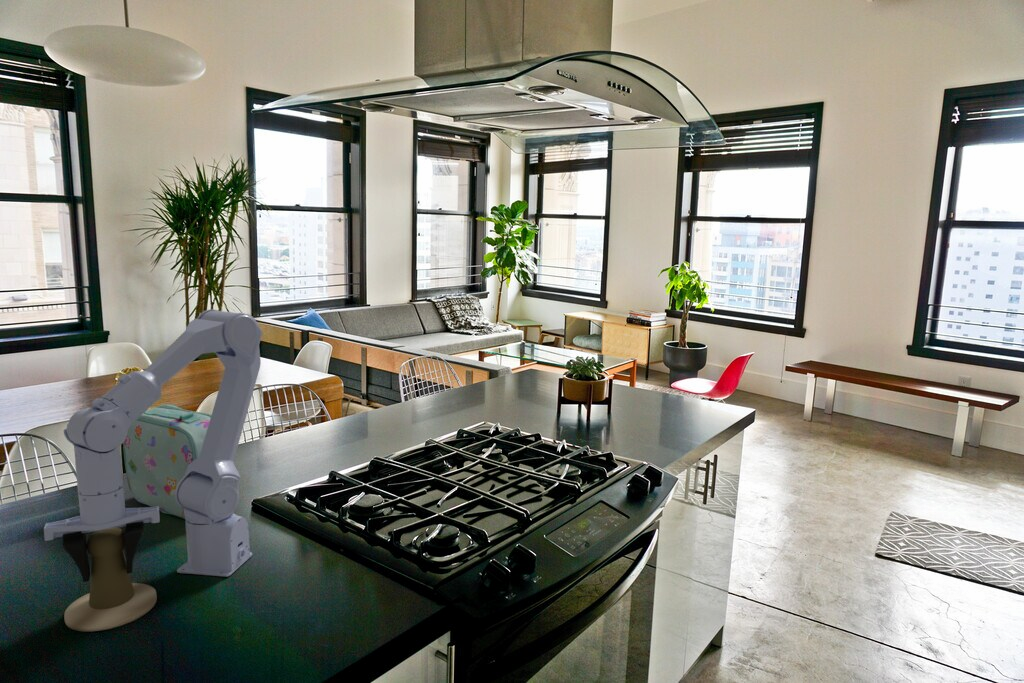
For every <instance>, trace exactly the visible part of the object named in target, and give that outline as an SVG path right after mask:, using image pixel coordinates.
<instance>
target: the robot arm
mask: <svg viewBox="0 0 1024 683" xmlns="http://www.w3.org/2000/svg"><path fill="white" fill-rule="evenodd" d="M263 333H264V332H263V330H262V328H261V327H260V325H259V323H258V322H257V320H256V318H254V316H252V315H251V314H249V313H247V312H231V311H223V310H222V311H221V310H217V309H214V308H213V309H212V308H211V309H206V310H204V311H202V312H201V313H200V314H199V315H198V316H197V318H194V319H193V320H191V321H189V322H188V325H187V327H186V328H185V330H184V331H183V333H181V334H180V335H179V336H178V337H177V338H176V339H175V340H174V341H173V342H172V343H171V344H170V345H169V346H168V347H167V348H166V349H165V350H164V351H163V352H162V353H161V354H159V356H158V357H157V358H156V359H155V360H154V361H153V362H151V363H150V365H148V367H146V368H145V369H144V370H143V371H142V370H141V371H140V370H138V371H137V370H134V371H130V372H129V373H127V374H126V373H121V375H120V376H118V377H117V381H118V383H116V384H114V386H113V387H112V388H111V389H109V390H108V391H107V392H105V393H104V394H103V395H102V396H101V397H100V398H95V399H94V400H93V401H91V407H86V408H82V409H81V408H80V409H79V410H77V411H76V412H74V414H73V415H71V417H70V418H69V419H68V423H67V424H66V429H63V435H64V437H65V439H66V440H67V441H68V442H69V443H71V444H72V445H73V450H74V451H73V452H74V459H75V461H74V462H75V463H74V466H75V473H76V474H75V475H76V485H77V496H78V505H79V506H78V507H79V515H76V516H72V517H69V518H66V519H62V520H57V521H53V522H52V521H51V522H46V523H45V525H44V527H43V535H44V541H45V542H47V541H48V542H49V541H53V540H54V539H55V538H61V537H62V544H61V545H62V547H63V549H64V550H65V551H66V552H67V553H68V554H69V556H70V558H72V560H73V561H74V563H75V565H76V566H77V568H78V570H79V572H80V575H81V577H82V578H81V579H82V581H83V582H82V583H86V582H90V579H91V567H90V562H89V556H88V550H87V533H92V532H93V533H94V532H96V531H99V530H105V529H111V528H123V527H124V530H123V531H124V538H125V553H126V554H125V558H126V571H127V574H128V573H130V574H132V573H133V566H134V565H133V564H134V558H135V555H136V550H137V548H138V546H139V543H140V540H141V538H142V536H143V533H144V527H145V523H146V524H148V523H151V524H157V523H160V517H161V516H160V510H159V506H156V507H151V506H148V507H126V502H125V487H124V478H123V466H122V463H123V462H122V456H121V445H123V442H124V441H125V439H126V437H127V433H128V429H129V427H130V426H131V425H132V423H133V422H134V421H135V420H137V419H138V418H139V417H140V416H141V415H142V414H143V413H144V412H145V411H146V410H149V409H151V407H152V406H153V405H154V404H156V402H157V401H158V400H159V399H161V397H162V392H163V391H162V389H163V385H165V384H166V383H168V382H169V381H170V380H171V379H173V377H175V376H176V375H177V374H178V373H180V372H181V371H182V370H183V369H185V368H186V367H187V366H188V365H189V364H191V363H192V362H193V361H194V360H196V359H197V358H198V357H200V356H202V354H211V353H213V354H216V357H217V358H218V359H219V361H220V362H221V363H222V365H223V368H224V372H223V374H222V378H221V382H220V385H219V389H218V392H217V395H216V399H215V400H214V401H215V402H214V404H213V405H214V406H213V409H212V412H211V414H210V415H211V419H210V422H209V426H208V429H207V432H206V436H205V439H204V443H203V446H202V450H201V453H200V456H199V457H198V458H197V459H196V460H194V461H193V462H191V463H190V464H189V465H188V467H187V470H186V473H185V475H184V476H183V478H182V479H181V480H180V482H179V483H178V485H177V487H176V490H175V499H176V501H177V503H178V504H179V505H180V506H181V507H183V508H184V515H185V519H184V520H185V533H186V534H185V535H186V537H185V538H186V549H187V550H186V551H187V561H186V562H185V563H183V564H182V565H181V566H180V567H178V568H177V569H176V572H177V573H179V574H189V575H190V574H191V575H200V576H201V575H203V576H213V577H214V576H216V577H227V578H228V577H230V576H231V575H233V574H234V572H236V571H237V570H238V569H239V568H240V567H241V566H242V565H243V564H245V562H246V561H248V560H249V559H250V558H251V557H252V556H253V552H251V550H250V548H251V547H250V546H251V545H250V532H249V523H248V519H247V518H246V517H244V516H241V515H238V514H236V513H234V512H235V510H236V508H237V507H238V505H239V501H240V491H239V485H240V480H241V474H240V473H239V471H238V470H237V468H236V466H235V463H234V461H235V457H236V454H237V450H238V447H239V444H240V439H241V436H242V433H243V429H244V426H245V422H246V419H247V418H246V417H247V415H248V411H249V407H250V405H251V400H252V397H253V393H254V391H255V386H256V382H257V379H258V376H259V373H260V369H261V353H260V342H261V340H262V336H263Z"/></svg>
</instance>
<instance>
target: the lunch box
mask: <svg viewBox="0 0 1024 683" xmlns="http://www.w3.org/2000/svg"><path fill="white" fill-rule="evenodd" d="M211 415H212V414H211V413H208V412H207V413H206V412H200V411H193V410H188V409H184V408H181V407H178V406H176V405H173V404H160V405H158V406H155V407H153V408H148V409H147V410H146V411H145V412H144V413H143V414H142V415H141V416H140V417H139V418H138V419H137V420H135V421H134V422H133V423H132V425H131V426H130V427H129V429H128V433H127V437H126V439H125V441H124V442H123V443H122V446H123V447H122V450H123V459H124V469H125V473H126V481H127V484H128V486H127V487H128V489H129V491H130V494H131V495H132V496H133V498H134V499H135V500H136V501H137V502H139V503H140V504H144V505H147V506H148V507H156V506H159V512H161V513H162V514H165V515H173V516H176V517H178V518H181V519H184V520H185V515H184V508H183V507H181V506H180V505H179V504H178V503H177V501H176V499H175V490H176V487H177V485H178V483H179V482H180V480H181V479H182V478H183V476H184V475H185V473H186V470H187V467H188V465H189V464H190V463H191V462H193V461H194V460H196V459H197V458H198V457H199V456H200V453H201V450H202V446H203V443H204V439H205V436H206V432H207V429H208V426H209V422H210V419H211Z"/></svg>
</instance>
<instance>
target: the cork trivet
mask: <svg viewBox="0 0 1024 683" xmlns="http://www.w3.org/2000/svg"><path fill="white" fill-rule="evenodd" d="M132 585H133V589H134V596H133V597H132V599H130V600H129V601H128V602H126V603H124V604H122V605H119V606H117V607H113V608H109V609H94V608H91V607H90V606H89V595H90V592H89V593H86V594H84V595H83V596H80V597H79V598H77V599H75V600H74V601H73V602H72V603H70V605H68V606H67V608H66V609H65V611H64V613H63V615H64V616H63V617H64V623H65V625H66V626H67V627H68V629H71V630H73V631H77V632H99V631H105V630H106V631H107V630H110V629H114V628H117V627H122V626H125V625H127V624H129V623H131V622H134V621H136V620H138V619H139V618H141V617H143V616H144V615H146V614H147V613H149V612H150V611H151V610H152V608H154V607H155V605H156V603H157V599H158V597H157V596H158V595H157V590H156V588H154V587H153V586H151V585H149V584H145V583H139V582H132Z"/></svg>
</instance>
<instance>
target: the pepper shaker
mask: <svg viewBox="0 0 1024 683" xmlns="http://www.w3.org/2000/svg"><path fill="white" fill-rule="evenodd" d="M124 531H125V530H123V529H122V528H120V527H117V528H111V529H105V530H99V531H93V533H91V534H90V535H89V536H88V538H87V539H86V543H87V553H89V555H90V556H91V567H90V578H89V593H90V595H89V606H90V607H91V608H94V609H109V608H113V607H117V606H119V605H122V604H124V603H126V602H128V601H129V600H130V599H132V597H133V596H134V589H133V585H132V583H133V581H132V579H131V577H132V576H131V573H128V574H127V571H126V554H125V550H124V549H125V548H126V546H125V538H124Z"/></svg>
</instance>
